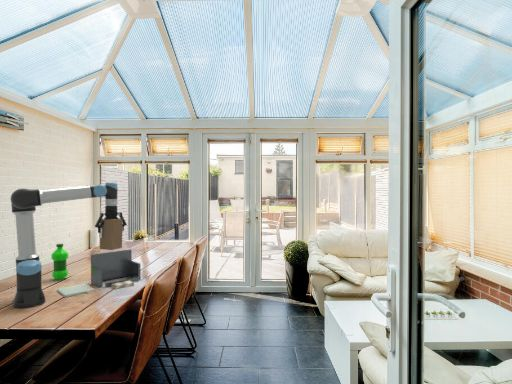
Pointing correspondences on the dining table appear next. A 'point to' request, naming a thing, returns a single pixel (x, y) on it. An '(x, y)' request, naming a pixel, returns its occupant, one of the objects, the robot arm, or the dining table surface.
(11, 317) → the dining table surface
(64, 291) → the sage mat
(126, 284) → the cream offcut
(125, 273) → the rack
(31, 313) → the dining table surface
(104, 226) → the wooden block
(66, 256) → the plastic bottle
